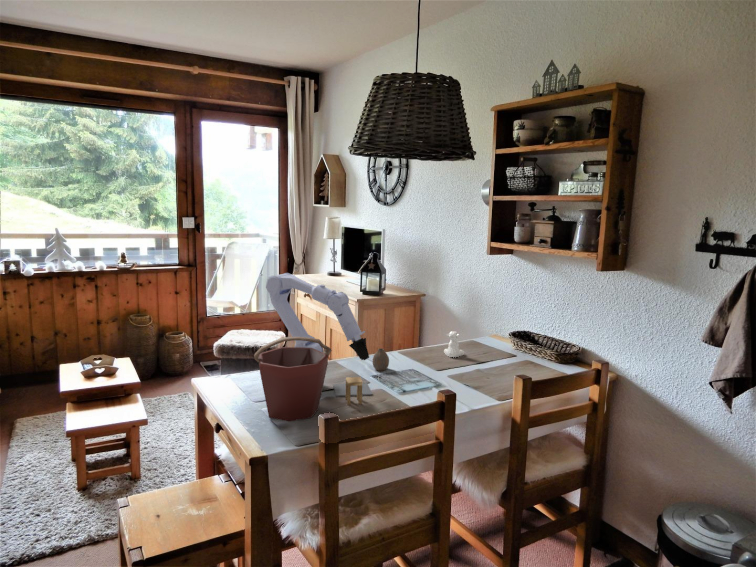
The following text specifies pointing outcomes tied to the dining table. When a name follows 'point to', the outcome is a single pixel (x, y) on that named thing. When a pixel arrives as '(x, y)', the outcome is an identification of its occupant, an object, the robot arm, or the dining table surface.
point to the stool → (353, 382)
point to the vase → (380, 360)
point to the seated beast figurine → (453, 345)
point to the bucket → (292, 378)
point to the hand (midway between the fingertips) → (365, 359)
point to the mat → (341, 390)
